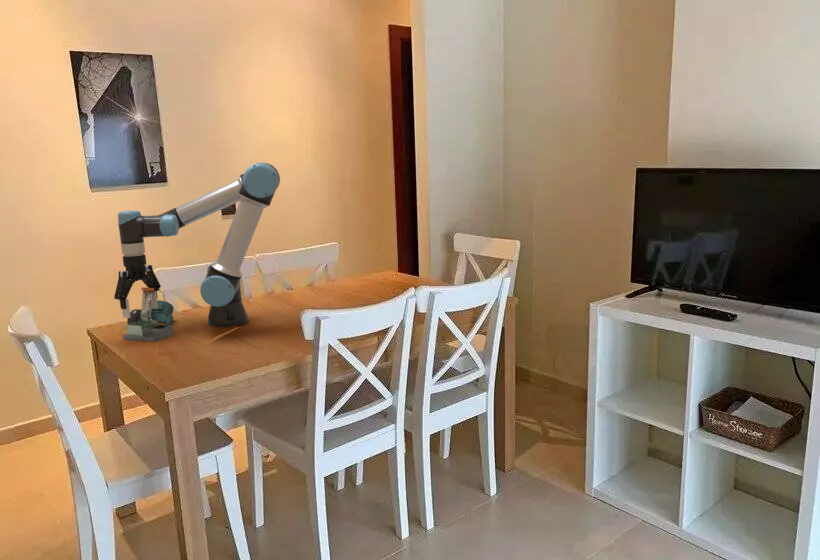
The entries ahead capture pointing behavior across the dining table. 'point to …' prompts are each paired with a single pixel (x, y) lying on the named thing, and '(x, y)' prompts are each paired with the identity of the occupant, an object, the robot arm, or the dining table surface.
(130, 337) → the grey base plate
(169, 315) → the dark teal rounded block
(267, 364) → the dining table surface
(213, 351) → the dining table surface
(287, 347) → the dining table surface
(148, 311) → the pin
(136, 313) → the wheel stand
